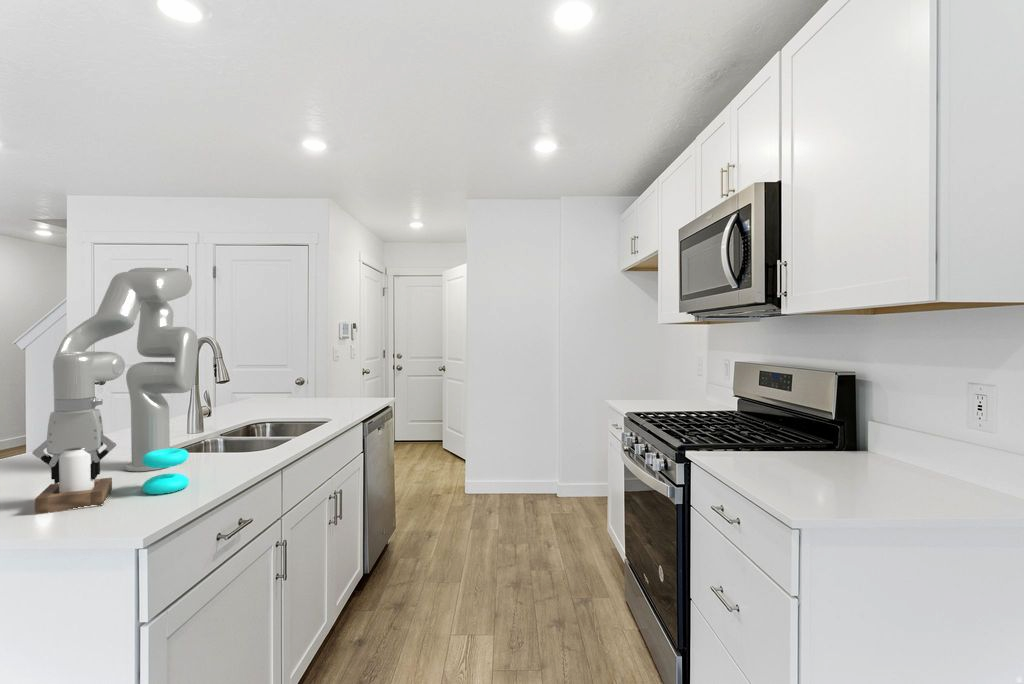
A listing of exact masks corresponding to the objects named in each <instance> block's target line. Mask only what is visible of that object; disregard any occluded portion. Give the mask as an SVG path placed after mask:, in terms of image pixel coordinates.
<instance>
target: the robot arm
mask: <svg viewBox="0 0 1024 684" xmlns="http://www.w3.org/2000/svg"><path fill="white" fill-rule="evenodd" d="M192 282H193V281H192V276H191V275H190V273H189V272H188V271H187V270H186V269H184V268H179V267H178V268H177V267H174V268H173V267H149V266H147V267H146V266H145V267H135V268H131V269H130V270H128V271H123V272H119V273H116V274H115V275H114V276H113V277H112V278H111V280H110V282H109V285H108V288H107V290H106V291H105V294H104V296H103V299H102V301H101V303H100V305H99V307H98V310H97V312H96V313H95V314H94V315H92V316H91V317H89V318H88V319H86V320H84V321H82V322H81V323H80V324H79V325H78V326H76V327H74V328H73V329H72V330H71V331H69V332H68V333H67V334H66V335H65V337H63V339H62V340H61V342H60V344H59V347H58V348H57V351H56V354H55V356H54V359H53V360H52V370H53V371H52V372H53V373H52V374H53V411H52V412H50V415H49V418H48V425H47V434H46V439H45V440H44V442H42V443H41V444H40V445H39V446H38V447H37V448H35V449H34V450H33V451H32V453H31V454H32V455H34V456H35V457H36V458H38V459H40V460H41V462H43V463H45V464H47V465H48V466H49V467H50V473H51V474H50V478H51V480H53V481H54V483H53V484H57V483H59V456H60V455H61V454H63V453H64V452H65V451H64V450H76V449H83V448H84V451H86V452H90V454H91V458H92V464H91V479H97V478H98V475H100V473H101V460H102V459H103V458H104V457H106V456H107V455H108V454H109V453H110V452H111V451H113V449H115V448H116V446H117V443H116V442H114V441H113V440H111V439H110V438H108V437H107V436H105V434H104V427H103V425H104V424H103V420H102V414H101V410H100V408H96V407H98V406H101V405H102V406H103V399H102V398H101V399H99V398H97V397H96V394H95V393H96V392H95V391H96V389H95V388H96V387H95V382H109V381H110V382H111V381H114V380H117V379H118V378H120V377H121V376H122V375H123V374H124V371H125V369H126V363H125V359H124V358H123V357H122V356H121V355H120V354H118V353H116V352H112V351H90V350H89V351H86V350H88V348H90V347H91V346H93V345H94V344H95V343H98V342H100V341H102V340H104V339H108V338H109V337H113V336H116V335H119V334H121V333H124V332H126V331H129V330H130V329H132V328H133V326H134V325H135V322H136V320H137V318H138V315H139V321H138V330H137V339H136V340H137V341H136V350H137V353H138V354H139V355H140V356H142V357H146V358H150V359H151V358H152V359H153V358H155V359H156V358H157V359H158V358H159V359H167V358H168V359H169V358H170V359H171V358H172V359H173V358H174V361H142V362H137V363H135V364H133V365H131V366H130V367H129V368H128V369H127V372H126V374H125V380H126V385H127V389H128V393H129V399H130V429H131V430H130V434H131V436H130V437H131V438H130V439H131V441H130V442H131V443H130V444H131V445H130V446H131V448H130V449H131V451H130V454H131V462H127V463H126V464H125V465H124V470H125V471H129V472H146V471H148V472H149V471H150V472H151V471H157V470H162V469H163V468H151V467H148V466H146V465H144V464H143V462H142V458H143V456H144V455H145V454H147V453H149V452H152V451H156V450H161V449H170V448H171V447H170V446H171V444H170V443H171V441H170V433H171V432H170V405H169V403H168V401H167V399H165V397H164V396H163V394H185V393H188V392H190V391H191V390H192V389H193V388H194V385H195V382H196V381H195V380H196V373H197V363H198V355H199V354H198V353H199V340H198V335H197V333H196V332H195V330H194V329H192V328H190V327H186V326H174V325H173V324H174V310H173V309H172V307H171V305H170V304H169V303H168V302H171V301H174V300H176V299H180V298H182V297H183V298H184V297H185V296H186V295H188V294H189V293H190V291H191V289H192V285H193V283H192ZM104 445H105V446H106V447H105V448H104V449H103V450H102V451H99V449H100V448H101V447H103V446H104ZM45 449H46V452H47V453H46V452H45Z"/></svg>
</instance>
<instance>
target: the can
mask: <svg viewBox="0 0 1024 684" xmlns="http://www.w3.org/2000/svg"><path fill="white" fill-rule="evenodd" d="M64 451H65V452H64V453H63V454H61V455H60V456H59V493H67V492H75V491H84V490H93V488H94V479H91V464H92V458H91V454H90V452H86V451H84V448H83V449H76V450H64Z"/></svg>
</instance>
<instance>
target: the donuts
mask: <svg viewBox="0 0 1024 684" xmlns="http://www.w3.org/2000/svg"><path fill="white" fill-rule="evenodd" d="M189 456H190V455H189V451H187V450H186V449H185V448H178V447H177V448H174V447H173V448H172V447H170V449H161V450H156V451H152V452H149V453H147V454H145V455H144V456H143V458H142V462H143V464H144V465H146V466H148V467H151V468H162V469H167V468H172V467H176V466H178V465H181V464H184V463H185V462H186V461H187V460H188V459H189ZM189 483H190V481H189V477H188V476H187V475H184V474H183V473H182V474H181V473H176V472H174V473H171V472H170V473H162V474H158V475H155V476H152V477H150V478H148V479H147V480H145V481H144V483H143V485H142V491H143V492H144V493H146V494H147V495H153V494H158V495H165V494H164V493H168V494H171V493H170V492H173V493H176V492H175V491H177V492H179V491H178V490H180V491H182V490H184V489H186V488H187V487H188V486H189ZM185 487H186V488H185ZM183 488H184V489H183ZM181 489H182V490H181Z"/></svg>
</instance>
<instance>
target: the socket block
mask: <svg viewBox="0 0 1024 684" xmlns="http://www.w3.org/2000/svg"><path fill="white" fill-rule="evenodd" d="M111 491H112V492H113V477H105V478H103V477H102V478H95V479H94V488H93V490H84V491H75V492H67V493H59V483H56V484H55V483H51V484H49V485H48V486H47V487H46V488H45V489H44V490H43V491H42V492H40V494H38V495H37V496H36V497H35V498H34V515H41V514H48V512H50V513H56V512H55V511H58V512H63V511H62V510H66V511H69V510H68V509H73V508H78V507H84V506H91V505H101V504H103V503H104V501H105V500H106V498H107V497H108V495H109V494H110V495H111V493H112V492H111ZM110 495H109V496H110ZM108 498H109V497H108ZM108 498H107V499H108ZM106 501H107V500H106ZM106 501H105V502H106ZM104 504H105V503H104ZM104 504H103V505H104ZM73 510H74V509H73Z"/></svg>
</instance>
